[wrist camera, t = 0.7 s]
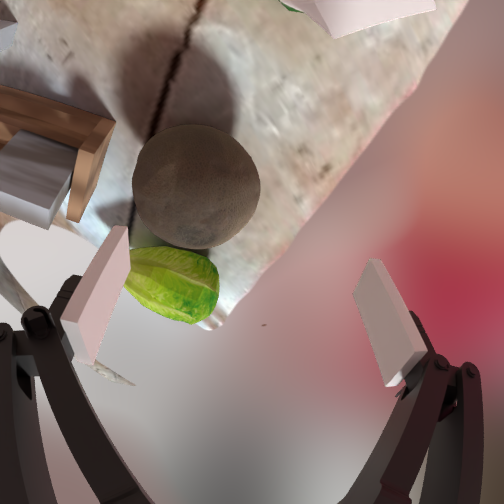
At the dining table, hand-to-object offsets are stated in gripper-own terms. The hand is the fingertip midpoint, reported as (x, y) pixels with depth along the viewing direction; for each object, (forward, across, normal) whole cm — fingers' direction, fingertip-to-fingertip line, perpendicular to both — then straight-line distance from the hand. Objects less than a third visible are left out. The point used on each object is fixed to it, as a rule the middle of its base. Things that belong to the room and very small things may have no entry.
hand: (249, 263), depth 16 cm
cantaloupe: (+27, -6, -2) cm, 28 cm away
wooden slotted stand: (+24, -33, +1) cm, 41 cm away
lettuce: (+32, -10, -23) cm, 41 cm away
